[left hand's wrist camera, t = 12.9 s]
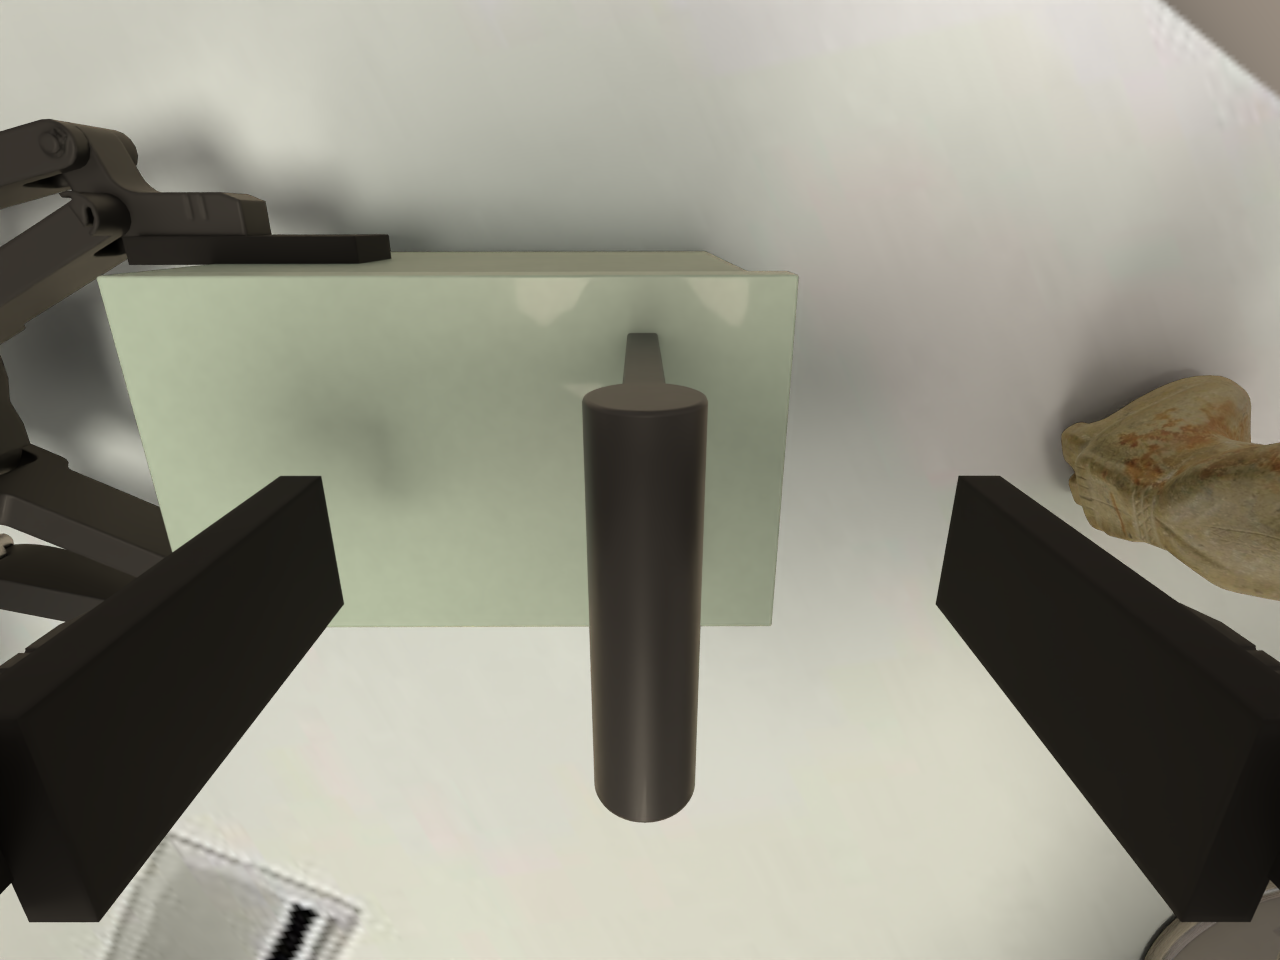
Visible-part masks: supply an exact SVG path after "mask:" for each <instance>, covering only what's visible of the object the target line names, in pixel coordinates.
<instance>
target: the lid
mask: <svg viewBox="0 0 1280 960" xmlns="http://www.w3.org/2000/svg"><path fill="white" fill-rule="evenodd" d="M798 279H799V277H798V275H796V274H793V273H791V272H788V271H603V272H132V273H122V274H112V275H103V276H98V277H97V281H98V285H99V289H100V292H101V296H102V300H103V303H104V307H105V310H106V314H107V318H108V321H109V325H110V329H111V332H112V336H113V339H114V343H115V347H116V350H117V354H118V358H119V361H120V365H121V368H122V372H123V376H124V379H125V383H126V387H127V390H128V394H129V397H130V401H131V405H132V408H133V412H134V416H135V419H136V423H137V426H138V430H139V434H140V437H141V441H142V444H143V448H144V452H145V455H146V459H147V463H148V466H149V470H150V473H151V477H152V481H153V484H154V488H155V492H156V495H157V499H158V502H159V506H160V510H161V513H162V517H163V521H164V524H165V528H166V531H167V535H168V539H169V542H170V546H171V550H172V552H174V551H175V550H176V549H178V548H179V547H181V546H182V545H184V544H185V543H186V542H188V541H189V540H191V539H192V538H193V537H195V536H196V535H198V534H199V533H200V532H202V531H203V530H205V529H206V528H207V527H209V526H210V525H212V524H213V523H215V522H216V521H217V520H219V519H220V518H222V517H223V516H224V515H226V514H227V513H229V512H230V511H231V510H233V509H234V508H236V507H237V506H238V505H240V504H241V503H243V502H244V501H246V500H247V499H248V498H250V497H251V496H253V495H254V494H255V493H257V492H258V491H260V490H261V489H262V488H264V487H265V486H267V485H268V484H270V483H271V482H272V481H274V480H275V479H277V478H278V477H279V476H321V477H322V482H323V488H324V494H325V499H326V505H327V510H328V516H329V522H330V527H331V533H332V539H333V544H334V550H335V555H336V561H337V567H338V572H339V578H340V583H341V589H342V595H343V600H344V605H343V606H342V608H341V609H340V610H339V612H338V613H337V614H336V615H335V617H334V618H333V619H332V621H331V622H330V623H329V625H328V626H327V627H568V626H589V631H590V661H591V691H592V721H593V751H594V782H595V790H596V793H597V795H598V797H599V799H600V801H601V802H602V803H603V805H604V806H605V807H606V808H607V809H608V810H609V811H610V812H612V813H613V814H615V815H617V816H618V817H621V818H623V819H626V820H629V821H634V822H644V823H646V822H656V821H661V820H664V819H667V818H669V817H671V816H673V815H675V814H677V813H678V812H679V811H681V810H682V809H683V808H684V807H685V806H686V804H687V803H688V802H689V800H690V798H691V796H692V794H693V791H694V787H695V766H696V737H697V709H698V680H699V651H700V626H771V624H772V611H773V599H774V586H775V573H776V560H777V548H778V535H779V522H780V509H781V496H782V484H783V471H784V458H785V445H786V433H787V420H788V407H789V394H790V381H791V369H792V356H793V343H794V330H795V318H796V305H797V292H798Z"/></svg>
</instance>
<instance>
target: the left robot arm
mask: <svg viewBox="0 0 1280 960" xmlns="http://www.w3.org/2000/svg"><path fill="white" fill-rule="evenodd" d="M343 605H344V600H343V595H342V589H341V583H340V578H339V572H338V567H337V561H336V555H335V550H334V544H333V539H332V533H331V527H330V522H329V516H328V510H327V505H326V499H325V494H324V488H323V482H322V477H321V476H279V477H278V478H277V479H275V480H274V481H272V482H271V483H270V484H268V485H267V486H265V487H264V488H262V489H261V490H260V491H258V492H257V493H255V494H254V495H253V496H251V497H250V498H248V499H247V500H246V501H244V502H243V503H241V504H240V505H238V506H237V507H236V508H234V509H233V510H231V511H230V512H229V513H227V514H226V515H224V516H223V517H222V518H220V519H219V520H217V521H216V522H215V523H213V524H212V525H210V526H209V527H207V528H206V529H205V530H203V531H202V532H200V533H199V534H198V535H196V536H195V537H193V538H192V539H191V540H189V541H188V542H186V543H185V544H184V545H182V546H181V547H179V548H178V549H176V550H175V551H174V552H172V553H171V554H169V555H168V556H167V557H165V558H164V559H162V560H161V561H160V562H158V563H157V564H155V565H154V566H152V567H151V568H150V569H148V570H147V571H145V572H144V573H143V574H141V575H140V576H138V577H137V578H136V579H134V580H133V581H131V582H130V583H129V584H127V585H126V586H124V587H123V588H121V589H120V590H119V591H117V592H116V593H114V594H113V595H112V596H110V597H109V598H107V599H106V600H105V601H103V602H102V603H100V604H99V605H97V606H96V607H95V608H93V609H92V610H90V611H88V612H86V613H84V614H82V615H79V616H77V617H75V618H73V619H71V620H69V621H67V622H64V623H62V624H60V625H58V626H57V627H55V628H54V629H53V630H51V631H50V632H48V633H47V634H45V635H44V636H43V637H41V638H40V639H38V640H37V641H35V642H34V643H32V644H31V645H30V646H28V647H27V648H25V650H26V651H25V653H18V654H17V655H15V656H14V657H12V658H11V659H9V660H8V661H7V662H5V663H4V664H2V665H1V666H0V894H1V893H2V892H3V891H4V890H5V889H6V888H7V887H8V886H9V885H10V884H11V883H12V885H13V888H14V890H15V892H16V894H17V896H18V898H19V901H20V903H21V905H22V907H23V909H24V912H25V914H26V916H27V918H28V920H29V922H99V921H100V920H101V919H102V917H103V916H104V915H105V914H106V912H107V911H108V910H109V908H110V907H111V906H112V904H113V903H114V902H115V901H116V899H117V898H118V897H119V895H120V894H121V893H122V892H123V890H124V889H125V888H126V886H127V885H128V884H129V882H130V881H131V880H132V879H133V877H134V876H135V875H136V873H137V872H138V871H139V869H140V868H141V867H142V866H143V864H144V863H145V862H146V860H147V859H148V858H149V857H150V855H151V854H152V853H153V851H154V850H155V849H156V847H157V846H158V845H159V844H160V842H161V841H162V840H163V838H164V837H165V836H166V834H167V833H168V832H169V831H170V829H171V828H172V827H173V825H174V824H175V823H176V822H177V820H178V819H179V818H180V816H181V815H182V814H183V812H184V811H185V810H186V809H187V807H188V806H189V805H190V803H191V802H192V801H193V799H194V798H195V797H196V796H197V794H198V793H199V792H200V790H201V789H202V788H203V787H204V785H205V784H206V783H207V781H208V780H209V779H210V777H211V776H212V775H213V774H214V772H215V771H216V770H217V768H218V767H219V766H220V764H221V763H222V762H223V761H224V759H225V758H226V757H227V755H228V754H229V753H230V752H231V750H232V749H233V748H234V746H235V745H236V744H237V742H238V741H239V740H240V739H241V737H242V736H243V735H244V733H245V732H246V731H247V729H248V728H249V727H250V726H251V724H252V723H253V722H254V720H255V719H256V718H257V717H258V715H259V714H260V713H261V711H262V710H263V709H264V707H265V706H266V705H267V704H268V702H269V701H270V700H271V698H272V697H273V696H274V694H275V693H276V692H277V691H278V689H279V688H280V687H281V685H282V684H283V683H284V682H285V680H286V679H287V678H288V676H289V675H290V674H291V672H292V671H293V670H294V669H295V667H296V666H297V665H298V663H299V662H300V661H301V660H302V658H303V657H304V656H305V654H306V653H307V652H308V650H309V649H310V648H311V647H312V645H313V644H314V643H315V641H316V640H317V639H318V637H319V636H320V635H321V634H322V632H323V631H324V630H325V628H326V627H327V626H328V625H329V623H330V622H331V621H332V619H333V618H334V617H335V615H336V614H337V613H338V612H339V610H340V609H341V608H342V606H343ZM936 605H937V606H938V608H939V609H940V610H941V612H942V613H943V614H944V615H945V617H946V618H947V619H948V621H949V622H950V623H951V625H952V626H953V627H954V628H955V630H956V631H957V632H958V634H959V635H960V636H961V637H962V639H963V640H964V641H965V643H966V644H967V645H968V647H969V648H970V649H971V650H972V652H973V653H974V654H975V656H976V657H977V658H978V660H979V661H980V662H981V663H982V665H983V666H984V667H985V669H986V670H987V671H988V672H989V674H990V675H991V676H992V678H993V679H994V680H995V682H996V683H997V684H998V685H999V687H1000V688H1001V689H1002V691H1003V692H1004V693H1005V695H1006V696H1007V697H1008V698H1009V700H1010V701H1011V702H1012V704H1013V705H1014V706H1015V707H1016V709H1017V710H1018V711H1019V713H1020V714H1021V715H1022V717H1023V718H1024V719H1025V720H1026V722H1027V723H1028V724H1029V726H1030V727H1031V728H1032V730H1033V731H1034V732H1035V733H1036V735H1037V736H1038V737H1039V739H1040V740H1041V741H1042V742H1043V744H1044V745H1045V746H1046V748H1047V749H1048V750H1049V752H1050V753H1051V754H1052V755H1053V757H1054V758H1055V759H1056V761H1057V762H1058V763H1059V765H1060V766H1061V767H1062V768H1063V770H1064V771H1065V772H1066V774H1067V775H1068V776H1069V777H1070V779H1071V780H1072V781H1073V783H1074V784H1075V785H1076V787H1077V788H1078V789H1079V790H1080V792H1081V793H1082V794H1083V796H1084V797H1085V798H1086V800H1087V801H1088V802H1089V803H1090V805H1091V806H1092V807H1093V809H1094V810H1095V811H1096V812H1097V814H1098V815H1099V816H1100V818H1101V819H1102V820H1103V822H1104V823H1105V824H1106V825H1107V827H1108V828H1109V829H1110V831H1111V832H1112V833H1113V835H1114V836H1115V837H1116V838H1117V840H1118V841H1119V842H1120V844H1121V845H1122V846H1123V847H1124V849H1125V850H1126V851H1127V853H1128V854H1129V855H1130V857H1131V858H1132V859H1133V860H1134V862H1135V863H1136V864H1137V866H1138V867H1139V868H1140V870H1141V871H1142V872H1143V873H1144V875H1145V876H1146V877H1147V879H1148V880H1149V881H1150V882H1151V884H1152V885H1153V886H1154V888H1155V889H1156V890H1157V892H1158V893H1159V894H1160V895H1161V897H1162V898H1163V899H1164V901H1165V902H1166V903H1167V905H1168V906H1169V907H1170V908H1171V910H1172V911H1173V912H1174V914H1175V915H1176V916H1177V918H1176V919H1175V920H1174V921H1173V922H1172V923H1171V924H1170V925H1168V926H1167V927H1166V928H1165V929H1164V931H1163V932H1162V933H1161V934H1160V935H1159V936H1158V938H1157V939H1156V940H1155V942H1154V943H1153V944H1152V946H1151V948H1150V949H1149V951H1148V953H1147V955H1146V957H1145V959H1144V960H1280V662H1278V661H1277V660H1276V659H1274V658H1273V657H1271V656H1270V655H1268V654H1267V653H1265V652H1264V651H1263V650H1256V648H1255V647H1256V646H1255V645H1254V644H1252V643H1251V642H1249V641H1248V640H1247V639H1245V638H1244V637H1242V636H1241V635H1239V634H1238V633H1236V632H1235V631H1234V630H1232V629H1231V628H1229V627H1228V626H1226V625H1225V624H1223V623H1222V622H1220V621H1218V620H1216V619H1213V618H1211V617H1209V616H1207V615H1205V614H1203V613H1200V612H1198V611H1196V610H1194V609H1192V608H1189V607H1187V606H1185V605H1183V604H1181V603H1178V602H1177V601H1175V600H1174V599H1173V598H1171V597H1170V596H1168V595H1167V594H1166V593H1164V592H1163V591H1161V590H1160V589H1159V588H1157V587H1156V586H1154V585H1153V584H1151V583H1150V582H1149V581H1147V580H1146V579H1144V578H1143V577H1142V576H1140V575H1139V574H1137V573H1136V572H1135V571H1133V570H1132V569H1130V568H1129V567H1127V566H1126V565H1125V564H1123V563H1122V562H1120V561H1119V560H1118V559H1116V558H1115V557H1113V556H1112V555H1111V554H1109V553H1108V552H1106V551H1105V550H1104V549H1102V548H1101V547H1099V546H1098V545H1096V544H1095V543H1094V542H1092V541H1091V540H1089V539H1088V538H1087V537H1085V536H1084V535H1082V534H1081V533H1080V532H1078V531H1077V530H1075V529H1074V528H1073V527H1071V526H1070V525H1068V524H1067V523H1065V522H1064V521H1063V520H1061V519H1060V518H1058V517H1057V516H1056V515H1054V514H1053V513H1051V512H1050V511H1049V510H1047V509H1046V508H1044V507H1043V506H1041V505H1040V504H1039V503H1037V502H1036V501H1034V500H1033V499H1032V498H1030V497H1029V496H1027V495H1026V494H1025V493H1023V492H1022V491H1020V490H1019V489H1018V488H1016V487H1015V486H1013V485H1012V484H1010V483H1009V482H1008V481H1006V480H1005V479H1003V478H1002V477H1001V476H959V477H958V482H957V488H956V494H955V499H954V505H953V510H952V516H951V522H950V527H949V533H948V538H947V544H946V550H945V555H944V561H943V566H942V572H941V578H940V583H939V589H938V594H937V600H936Z"/></svg>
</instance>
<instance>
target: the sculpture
mask: <svg viewBox="0 0 1280 960" xmlns="http://www.w3.org/2000/svg"><path fill="white" fill-rule="evenodd" d="M1250 419H1251V403H1250V398H1249V396H1248V394H1247V392H1246V391H1245V390H1244V389H1243V388H1242V387H1240V386H1239V385H1238V384H1236V383H1235V382H1233V381H1232V380H1230V379H1228V378H1225V377H1222V376H1212V375H1207V376H1194V377H1189V378H1184V379H1180V380H1177V381H1174V382H1171V383H1169V384H1166V385H1164V386H1162V387H1160V388H1157V389H1155V390H1153V391H1151V392H1149V393H1147V394H1145V395H1143V396H1142V397H1140V398H1138V399H1136V400H1134V401H1133V402H1131V403H1129V404H1128V405H1126V406H1125V407H1123V408H1122V409H1120V410H1119V411H1117V412H1115V413H1114V414H1112V415H1110V416H1109V417H1107V418H1105V419H1102V420H1100V421H1097V422H1093V423H1090V424H1088V423H1084V422H1080V423H1076V424H1074V425H1072V426H1070V427H1068V428H1067V429H1066V430H1064V431H1063V433H1062V436H1061V442H1062V451H1063V456H1064V459H1065V461H1066V462H1067V463H1069V464H1070V466H1071V467H1072V468H1073V470H1074V471H1075V473H1074V474H1073V475H1072V476H1071V477H1070V479H1069V486H1070V490H1071V492H1072V495H1073V498H1074V501H1075V502H1076V503H1077V504H1079V505H1081V506H1082V507H1083V510H1084V513H1085V516H1086V518H1087V520H1088V522H1089V523H1090V525H1091V526H1092V527H1094V528H1095V529H1098V530H1101V531H1104V532H1105V533H1107V534H1108V535H1110V536H1113V537H1117V538H1121V539H1125V540H1128V541H1132V542H1146V543H1149V544H1151V545H1154V546H1157V547H1159V548H1162V549H1164V550H1167V551H1169V552H1170V553H1171V554H1172V555H1174V556H1175V557H1176V558H1177V559H1179V560H1180V561H1181V562H1183V563H1184V564H1185V565H1187V566H1188V567H1190V568H1191V569H1192V570H1194V571H1195V572H1196V573H1198V574H1199V575H1201V576H1202V577H1204V578H1205V579H1207V580H1208V581H1209V582H1211V583H1213V584H1214V585H1216V586H1218V587H1220V588H1223V589H1226V590H1229V591H1233V592H1237V593H1241V594H1247V595H1252V596H1257V597H1262V598H1267V599H1272V600H1278V601H1280V443H1274V444H1269V445H1261V444H1254V443H1251V434H1250Z"/></svg>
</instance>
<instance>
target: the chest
mask: <svg viewBox="0 0 1280 960" xmlns="http://www.w3.org/2000/svg"><path fill="white" fill-rule="evenodd" d="M603 271H746V270H744V269H742V268H740V267H737V266H735V265H733V264H731V263H729V262H727V261H725V260H723V259H720V258H718V257H716V256H714V255H712V254H710V253H708V252H706V251H560V252H391V259H387V260H380V261H374V262H367V263H361V264H210V265H200V266H190V267H181V268H171V269H161V270H152V271H142V272H603Z"/></svg>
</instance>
